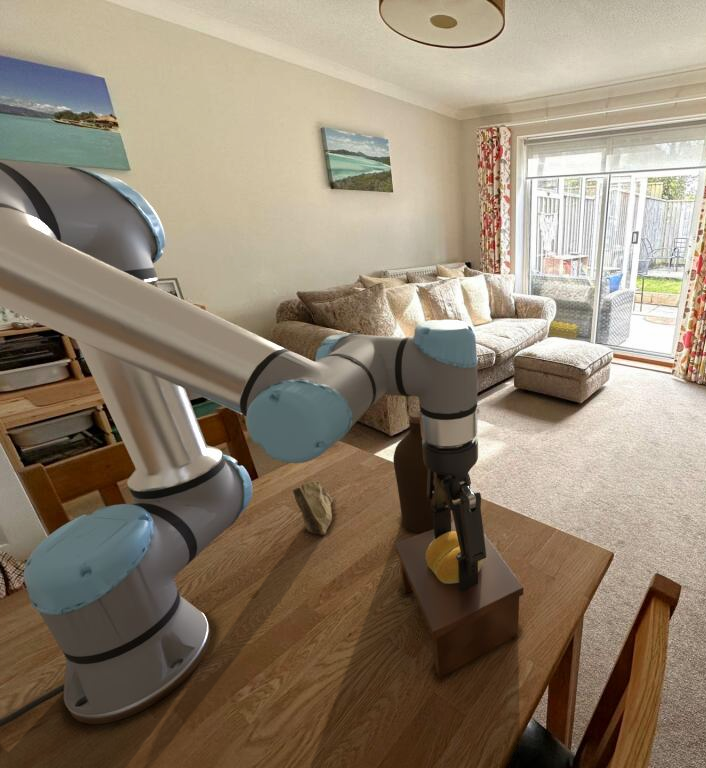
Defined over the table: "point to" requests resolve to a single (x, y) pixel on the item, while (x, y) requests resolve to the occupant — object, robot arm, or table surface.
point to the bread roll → (445, 557)
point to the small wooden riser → (461, 603)
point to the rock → (314, 506)
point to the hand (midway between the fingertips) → (455, 562)
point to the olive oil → (413, 479)
